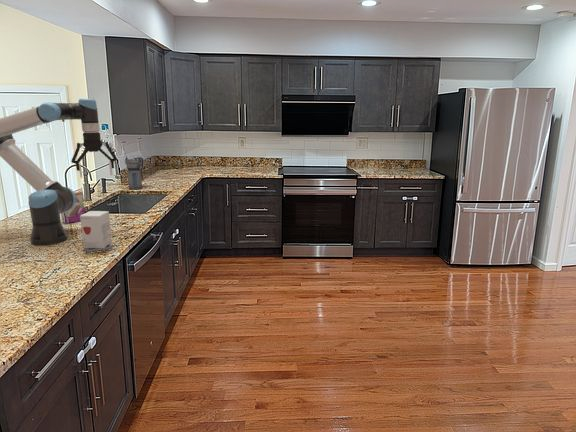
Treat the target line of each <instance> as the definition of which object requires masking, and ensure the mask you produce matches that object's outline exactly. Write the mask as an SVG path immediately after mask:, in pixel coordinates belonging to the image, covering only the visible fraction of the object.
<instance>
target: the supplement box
mask: <svg viewBox="0 0 576 432" xmlns="http://www.w3.org/2000/svg"><path fill="white" fill-rule="evenodd" d="M80 220H81V221H80V226H81V233H82V234H81V235H82V242H83V248H84V249H85V248H105V247H106V246H107V245H109V244H110V245H111V243H113V240H112V230H111V220H110V212H109V211H108V210H107V211H106V210H89V211H87V212H85V214H82V215H81V216H80Z"/></svg>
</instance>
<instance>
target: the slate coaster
mask: <svg viewBox="0 0 576 432" xmlns="http://www.w3.org/2000/svg"><path fill="white" fill-rule="evenodd" d="M84 249H85V251H87V252H86V254H87V253H90V254H92V253H91V252H96V253H98V252H97V251H102V252H104V251H103V250H109V249H112V250H113V248H112V245H111V243H110V244H109V245H107V246H106V247H105V248H84ZM109 251H110V250H109Z"/></svg>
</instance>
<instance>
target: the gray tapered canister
mask: <svg viewBox="0 0 576 432" xmlns="http://www.w3.org/2000/svg"><path fill="white" fill-rule="evenodd" d="M124 163H125V165H126V169H127V170H126V173H127V180H128V181H127V182H128V189H129V190H134V191H135V190H140V189H142V188H143V182H142V181H144V178H143V171H144V168H143V167H144V158H143V157H141V156H138V157H136V158H135V157H133V158H132V159H131V158H130V159H128V157H127V156H126V157H125V158H124Z"/></svg>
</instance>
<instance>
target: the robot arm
mask: <svg viewBox="0 0 576 432" xmlns="http://www.w3.org/2000/svg"><path fill="white" fill-rule="evenodd" d="M98 113H99V112H98V105H97V101H96V100H95V98H79V99H78V102H72V103H71V102H43V103H41V104H40V105H39V106H36V107H32V108H29V109H27V110H26V109H25V110H23V111H20V112H16V113H13V114H10V115H8V116H4V117H1V118H0V158H1V159H2V160H4V162H6V163H7V164H8V165H9V166H10V168H12V169H13V170H14V171H15V172H16V173H17V174H19V176H20V177H21V178H23V180H24V181H25V182H26V183H27V184H29V185H30V187H32V188H33V190H35V191H34V192H31V193H30V194H29V196H28V206H29V211H30V217H31V224H32V228H31V233H30V243H31V245H35V246H47V245H54V244H58V243H59V244H60V243H61V242H64V241H66V240H67V239H68V234H67V232H66V230H65V228H64V225H63V224H62V219H61V213H62V212H65V211H68V210H69V209H70V208H72V207H73V206H74V204H75V202H76V196H75V193H74V192H75V191H73V189H71V188H70V187H68V186H63V185H62V184H61V183H60V182H59V181H55V180H54V181H53V180H52V179H51V178H50V177H49V176H48V175H47V174H46V173H45V172H44V171H43V170H42V169H41V168H40V167H39V166H38V165H37V164H36V163H35V162H33V160H32V159H31V158H30V157H28V156H27V154H26V153H25V152H23V151H22V150H21V149H20V147H18V146H17V145H16V139H15V138H14V136H13V134H16V133H20V132H22V131H26V130H29V129H31V128H35V127H38V126H42V125H44V124H48V123H52V122H55V121H68V120H80V121H81V124H80V125H81V129H82V132H83V133H82V137H83V138H82V139H83V142H82V143H80V142H76V149H75V151H74V153H73V155H72V158H71V160H70V161H71V163H72V164H74V165H76V166H75V167H76V171H77V172H78V171H79V177H80V179H81V178H83V173H82V172H83V171H82V165H81V163H80V162H81V161H82V160H83V159H84V157H85V156H86V155H87V154H88V152H89V153H93V152H95V153H96V152H100V153H101V154H102V155H103V156H104V157H105V158H107V160H109V161H108V166H109V174H110V176H113V169H115V165H114V164H115V163H114V162H116V161H118V158H117V157H116V155H115V153H114V152H113V151H112V149H111V147H110V145H109V142H108V141H105V142H102V140H101V133H100V131H101V130H100V129H101V128H100V123H99V114H98ZM102 146H103V147H105V148H106V150H107V151H108V152H109V154H110V155H111V157H110V155H109V154H107V152H106V151H104V150H103V149H102ZM82 147H84V148H85V149H84V150H83V151H82V153H81V154H80V155H79V152H80V149H81V148H82ZM78 155H79V156H78ZM77 157H78V158H77Z"/></svg>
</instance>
